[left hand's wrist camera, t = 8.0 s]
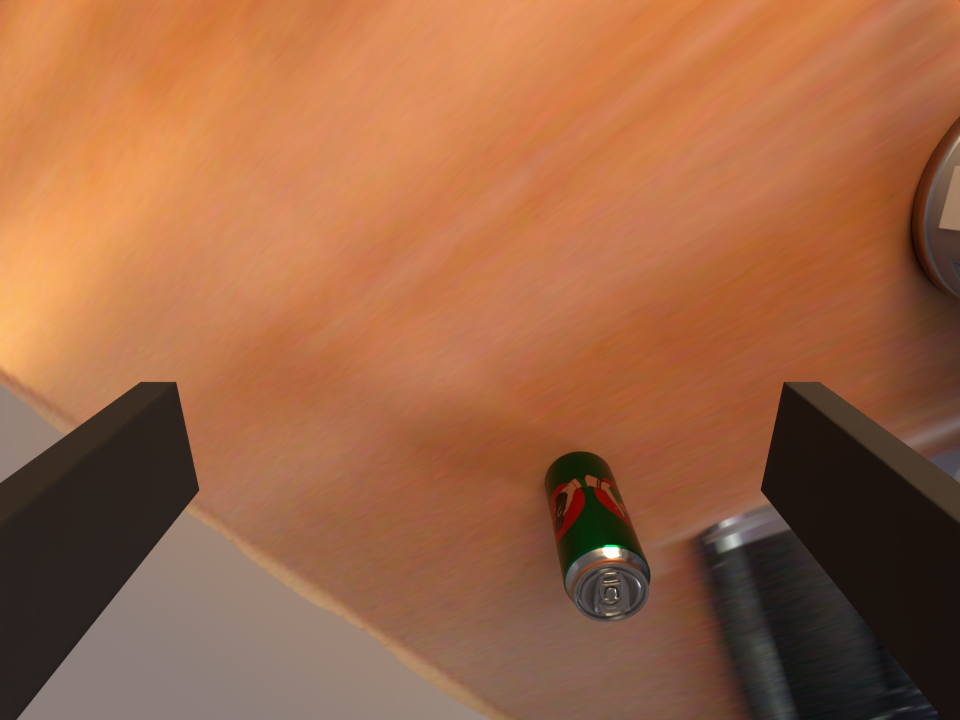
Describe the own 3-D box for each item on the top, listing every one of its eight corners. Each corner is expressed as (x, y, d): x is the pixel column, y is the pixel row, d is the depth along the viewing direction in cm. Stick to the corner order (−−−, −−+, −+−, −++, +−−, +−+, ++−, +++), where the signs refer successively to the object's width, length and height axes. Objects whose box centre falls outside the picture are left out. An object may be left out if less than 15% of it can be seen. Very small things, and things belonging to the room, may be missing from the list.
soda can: (546, 506, 44) (569, 631, 33) (541, 451, 42) (563, 562, 31) (611, 500, 44) (656, 623, 33) (609, 444, 42) (655, 554, 31)
